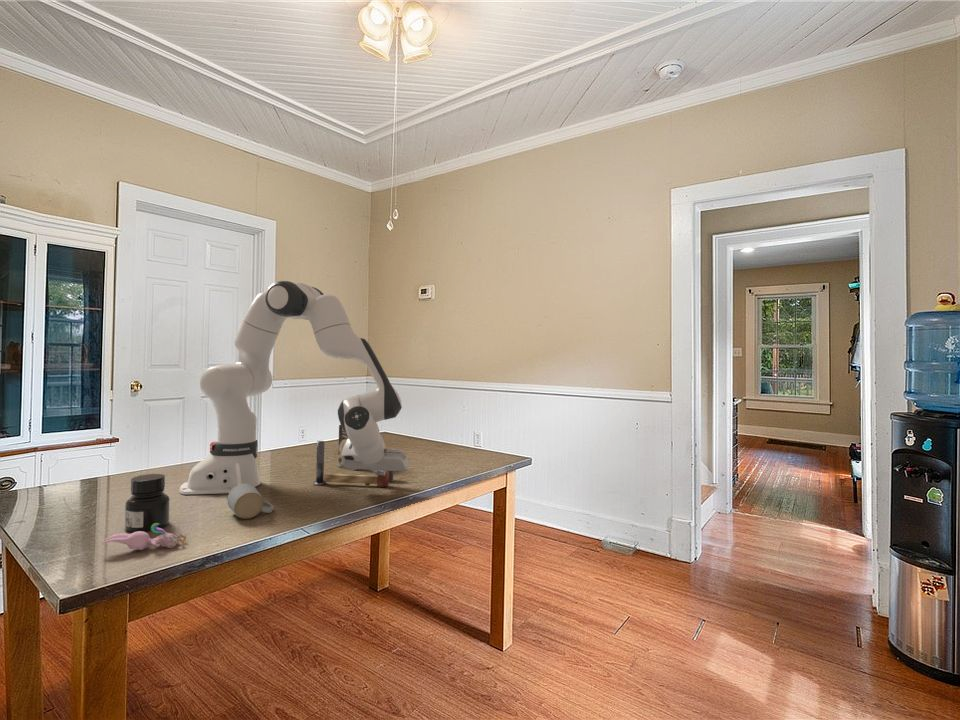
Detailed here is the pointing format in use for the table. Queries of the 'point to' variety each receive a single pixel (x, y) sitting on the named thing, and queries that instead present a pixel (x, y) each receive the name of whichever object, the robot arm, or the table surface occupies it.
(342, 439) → the coffee box
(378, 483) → the gate
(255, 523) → the table surface
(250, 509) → the ceramic mug
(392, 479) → the catch block
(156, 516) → the ink bottle
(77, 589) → the table surface
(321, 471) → the hinge post
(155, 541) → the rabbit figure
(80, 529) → the table surface
